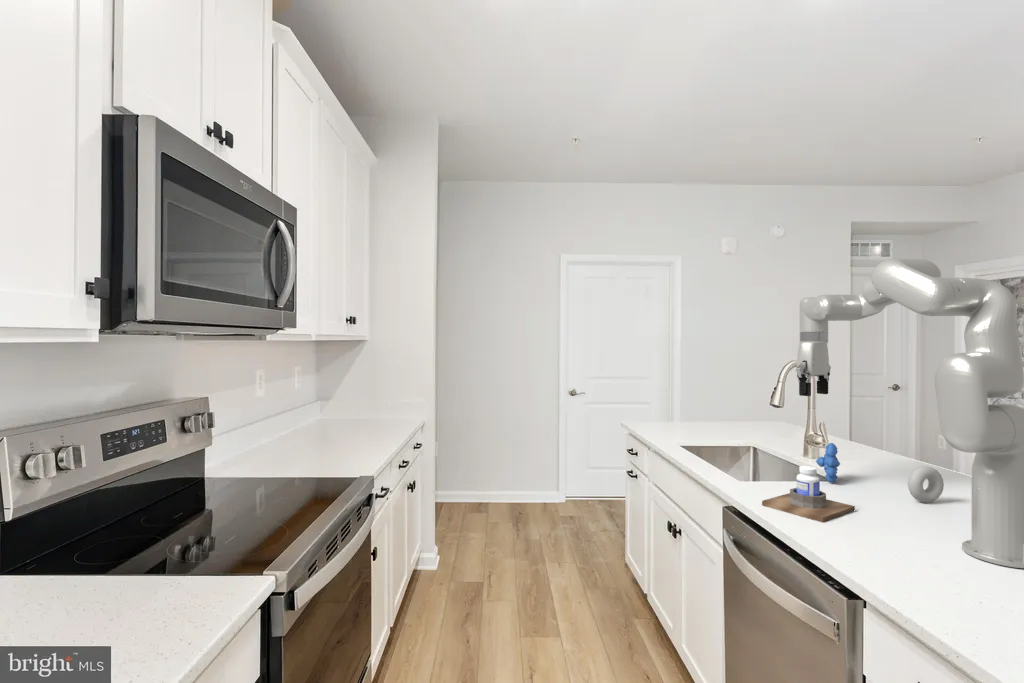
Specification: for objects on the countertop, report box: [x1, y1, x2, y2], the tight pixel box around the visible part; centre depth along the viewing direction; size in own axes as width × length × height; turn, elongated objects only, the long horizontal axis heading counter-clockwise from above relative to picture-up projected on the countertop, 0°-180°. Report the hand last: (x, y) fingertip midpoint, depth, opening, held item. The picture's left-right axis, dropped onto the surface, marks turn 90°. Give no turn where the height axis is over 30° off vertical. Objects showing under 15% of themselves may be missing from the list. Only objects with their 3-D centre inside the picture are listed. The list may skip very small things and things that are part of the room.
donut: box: [907, 465, 945, 503], centre depth 146 cm, size 10×4×10 cm, turn 99°
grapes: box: [815, 442, 841, 484], centre depth 168 cm, size 12×7×12 cm, turn 147°
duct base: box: [761, 487, 856, 523], centre depth 142 cm, size 16×16×4 cm
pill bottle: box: [796, 465, 821, 496], centre depth 141 cm, size 5×5×10 cm
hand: (813, 394), depth 160 cm, fingers open, 9 cm apart
